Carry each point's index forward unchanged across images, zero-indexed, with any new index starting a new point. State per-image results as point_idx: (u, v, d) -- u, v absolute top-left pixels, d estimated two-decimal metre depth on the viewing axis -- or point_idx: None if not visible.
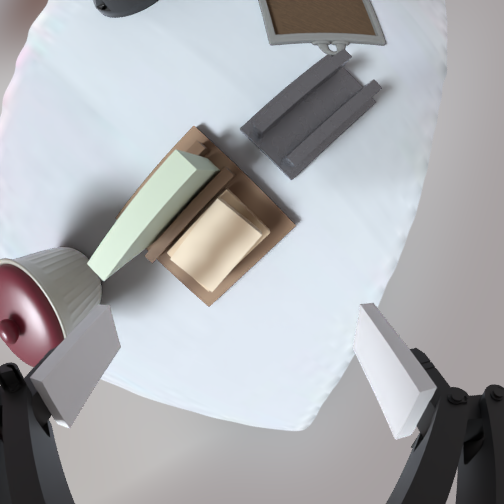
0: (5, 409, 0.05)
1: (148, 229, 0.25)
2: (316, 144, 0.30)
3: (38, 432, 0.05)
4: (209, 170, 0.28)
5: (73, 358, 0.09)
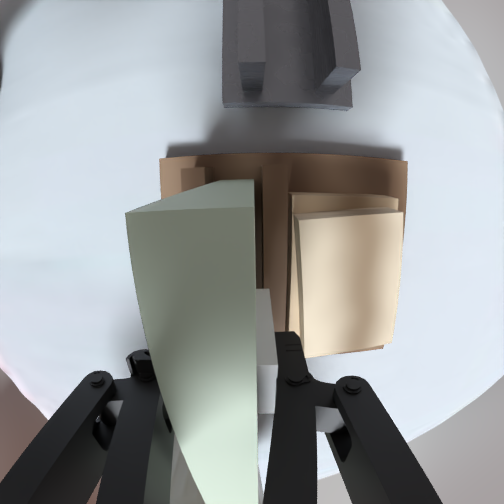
0: (128, 399, 0.07)
1: None
2: (350, 21, 0.11)
3: (161, 432, 0.07)
4: None
5: None
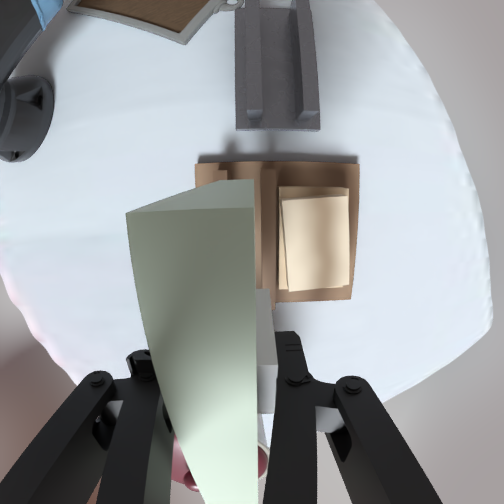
0: (127, 399, 0.07)
1: None
2: (314, 78, 0.23)
3: (160, 432, 0.07)
4: (253, 187, 0.12)
5: None
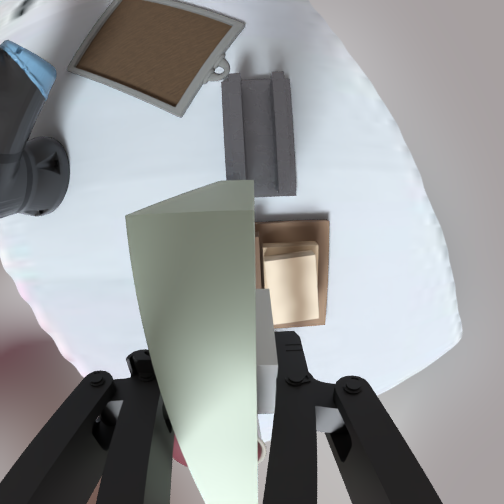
0: (127, 398, 0.07)
1: None
2: (288, 163, 0.33)
3: (160, 431, 0.07)
4: (253, 188, 0.12)
5: None
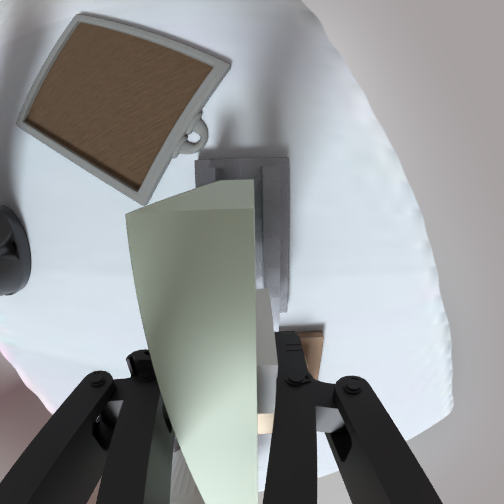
0: (127, 399, 0.07)
1: None
2: (277, 300, 0.26)
3: (160, 432, 0.07)
4: None
5: None
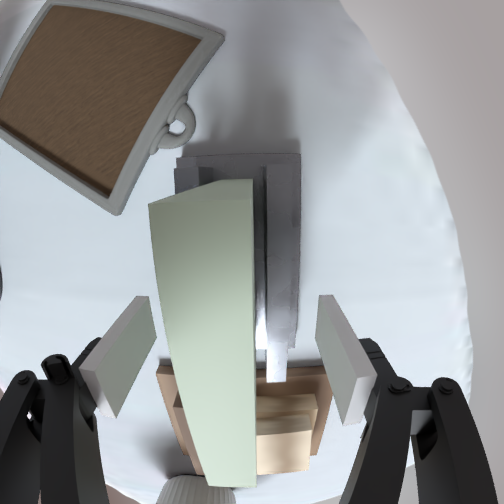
0: (48, 401, 0.06)
1: None
2: (285, 346, 0.19)
3: (81, 428, 0.06)
4: (252, 185, 0.13)
5: (120, 347, 0.10)
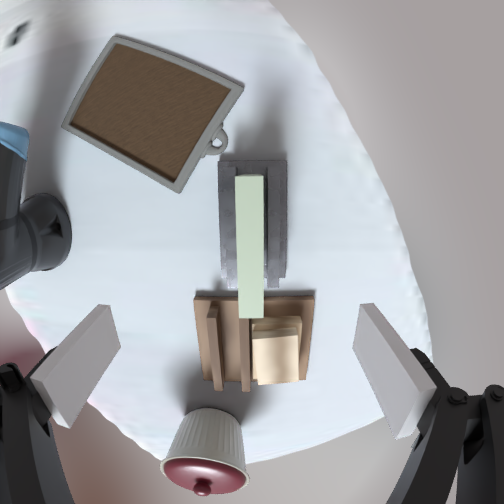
0: (5, 409, 0.05)
1: None
2: (277, 262, 0.37)
3: (38, 432, 0.05)
4: None
5: (73, 358, 0.09)
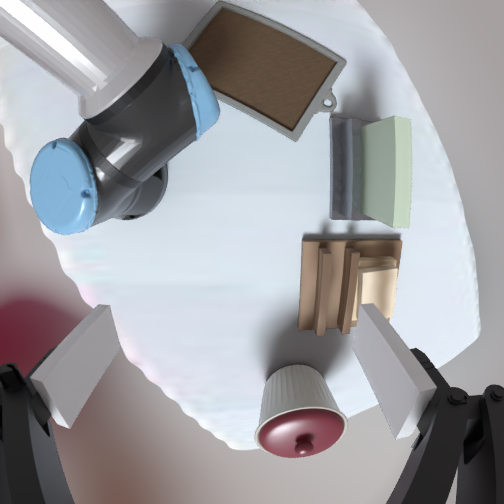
0: (5, 409, 0.05)
1: None
2: None
3: (37, 432, 0.05)
4: None
5: (73, 358, 0.09)
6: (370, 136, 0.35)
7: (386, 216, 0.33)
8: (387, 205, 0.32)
